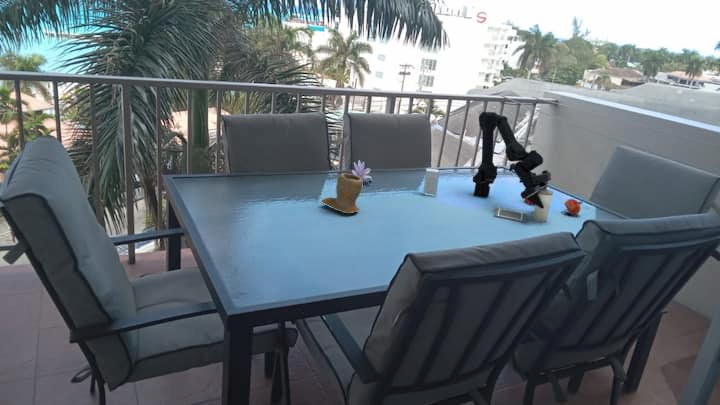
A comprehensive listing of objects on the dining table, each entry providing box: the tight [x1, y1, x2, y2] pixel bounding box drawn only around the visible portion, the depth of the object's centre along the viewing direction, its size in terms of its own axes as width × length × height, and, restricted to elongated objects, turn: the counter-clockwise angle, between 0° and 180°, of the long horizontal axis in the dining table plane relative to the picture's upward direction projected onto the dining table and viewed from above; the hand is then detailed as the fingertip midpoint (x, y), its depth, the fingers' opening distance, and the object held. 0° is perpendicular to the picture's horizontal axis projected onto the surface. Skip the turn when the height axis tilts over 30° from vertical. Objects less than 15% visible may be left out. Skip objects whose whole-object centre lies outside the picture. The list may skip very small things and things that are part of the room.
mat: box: [493, 207, 527, 224], centre depth 207 cm, size 13×11×1 cm
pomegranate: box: [560, 198, 583, 216], centre depth 214 cm, size 7×7×10 cm
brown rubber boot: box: [320, 172, 364, 213], centre depth 194 cm, size 15×12×15 cm
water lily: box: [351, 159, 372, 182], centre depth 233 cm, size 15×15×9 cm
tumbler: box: [531, 188, 554, 223], centre depth 203 cm, size 6×6×13 cm
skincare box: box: [423, 168, 440, 196], centre depth 223 cm, size 6×4×12 cm
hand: (545, 206), depth 202 cm, fingers open, 7 cm apart
